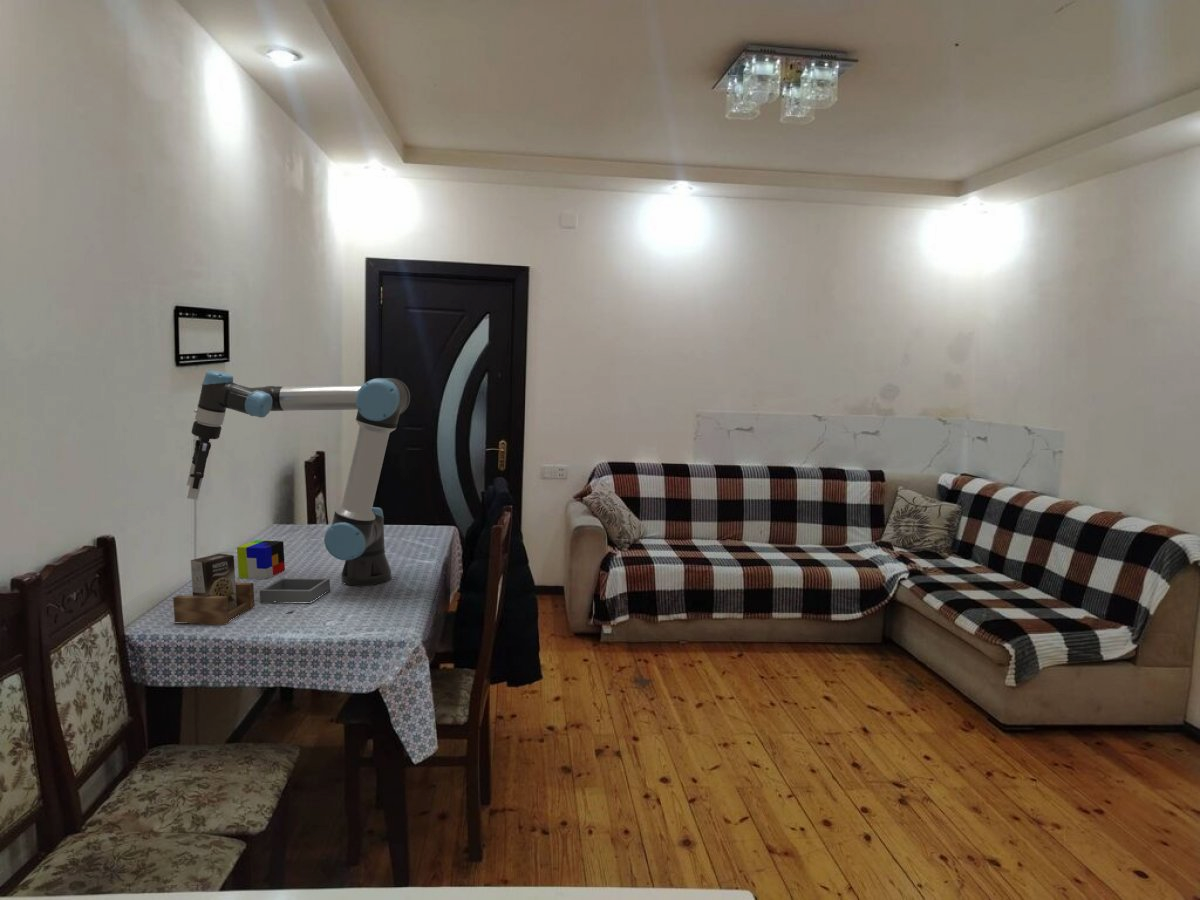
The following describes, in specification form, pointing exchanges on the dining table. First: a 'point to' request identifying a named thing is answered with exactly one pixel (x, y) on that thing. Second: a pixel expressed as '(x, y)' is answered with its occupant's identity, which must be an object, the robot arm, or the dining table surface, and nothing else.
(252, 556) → the puzzle toy
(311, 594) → the tray
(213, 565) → the coffee box
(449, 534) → the dining table surface
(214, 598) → the holder
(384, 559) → the robot arm
